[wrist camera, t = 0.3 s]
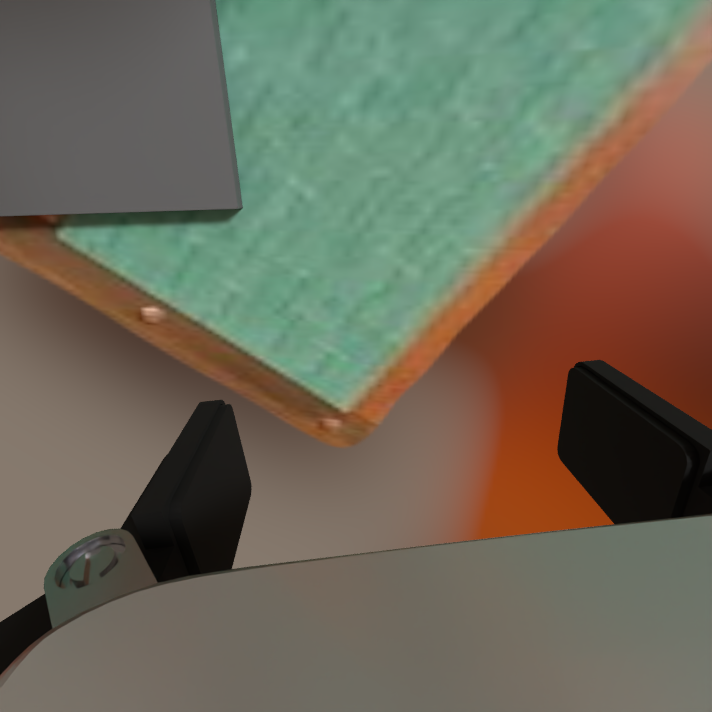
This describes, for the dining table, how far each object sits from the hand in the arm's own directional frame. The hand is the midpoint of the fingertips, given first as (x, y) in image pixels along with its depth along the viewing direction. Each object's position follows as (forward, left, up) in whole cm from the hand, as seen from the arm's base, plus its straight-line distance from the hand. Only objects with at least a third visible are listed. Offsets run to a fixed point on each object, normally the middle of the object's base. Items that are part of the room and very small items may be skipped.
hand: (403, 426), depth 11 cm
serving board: (-14, -21, -31) cm, 40 cm away
